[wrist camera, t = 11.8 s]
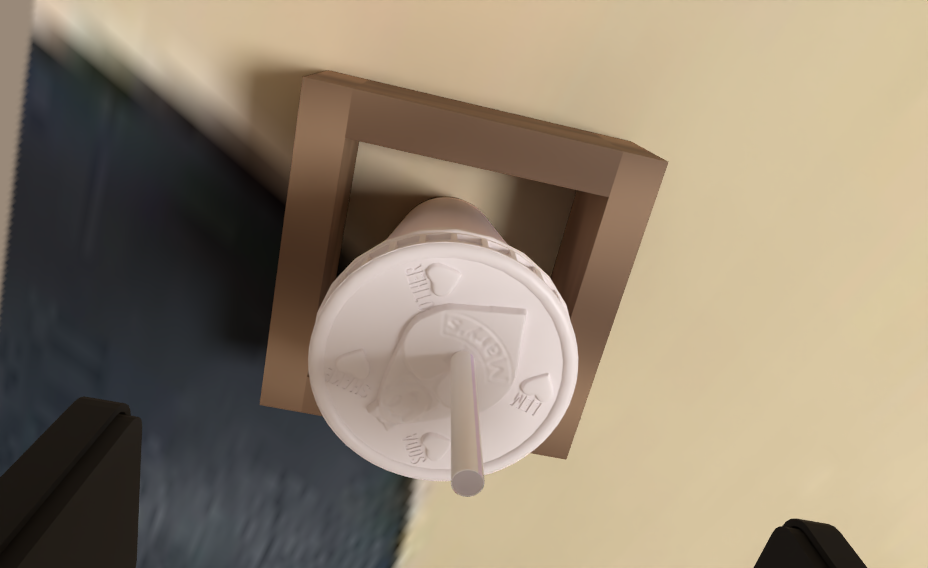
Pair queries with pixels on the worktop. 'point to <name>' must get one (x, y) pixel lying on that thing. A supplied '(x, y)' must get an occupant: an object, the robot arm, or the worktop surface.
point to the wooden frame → (469, 143)
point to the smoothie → (443, 350)
